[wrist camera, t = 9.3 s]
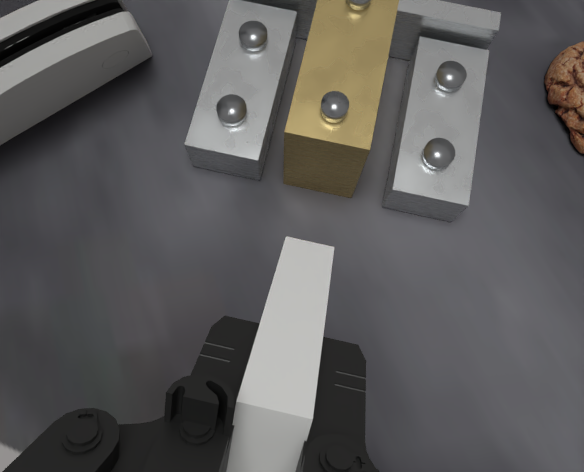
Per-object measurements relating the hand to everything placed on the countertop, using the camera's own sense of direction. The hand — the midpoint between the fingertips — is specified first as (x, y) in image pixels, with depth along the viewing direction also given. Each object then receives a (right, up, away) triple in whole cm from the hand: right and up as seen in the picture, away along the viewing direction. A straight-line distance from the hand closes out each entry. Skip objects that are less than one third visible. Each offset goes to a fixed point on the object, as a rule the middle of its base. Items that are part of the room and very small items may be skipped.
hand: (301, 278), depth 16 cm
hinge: (-18, +12, +23) cm, 31 cm away
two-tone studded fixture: (+3, +10, +22) cm, 24 cm away
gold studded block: (+3, +10, +22) cm, 25 cm away
